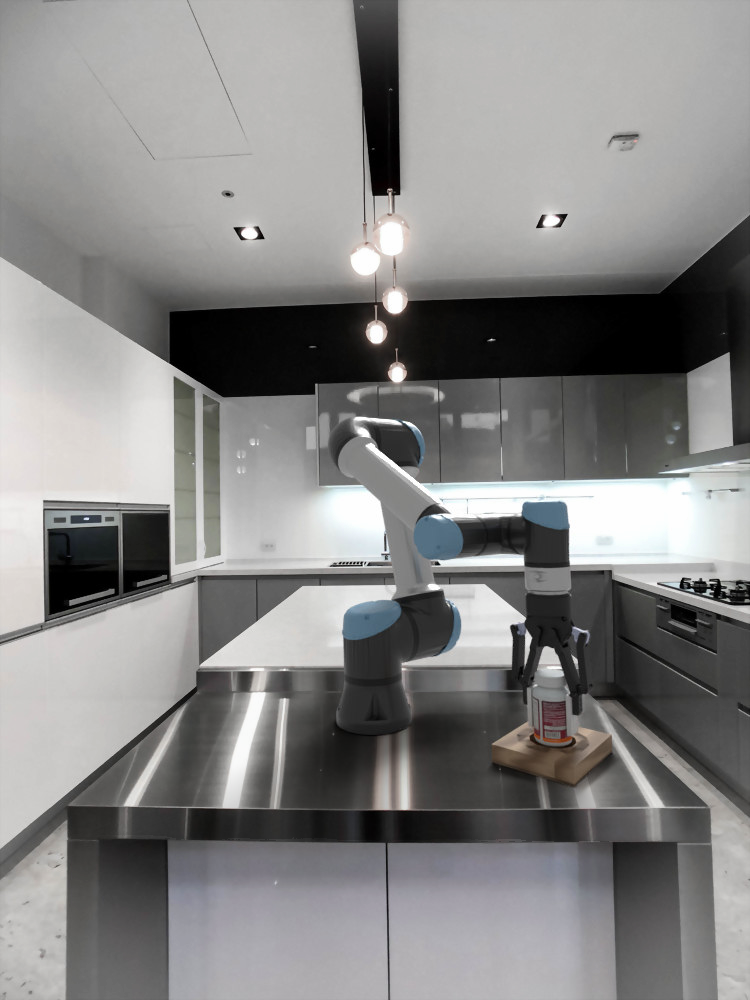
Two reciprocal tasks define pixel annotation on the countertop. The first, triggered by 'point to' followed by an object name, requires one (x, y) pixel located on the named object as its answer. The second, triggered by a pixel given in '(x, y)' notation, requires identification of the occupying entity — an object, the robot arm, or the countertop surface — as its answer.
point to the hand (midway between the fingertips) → (552, 728)
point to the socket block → (553, 754)
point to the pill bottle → (550, 708)
